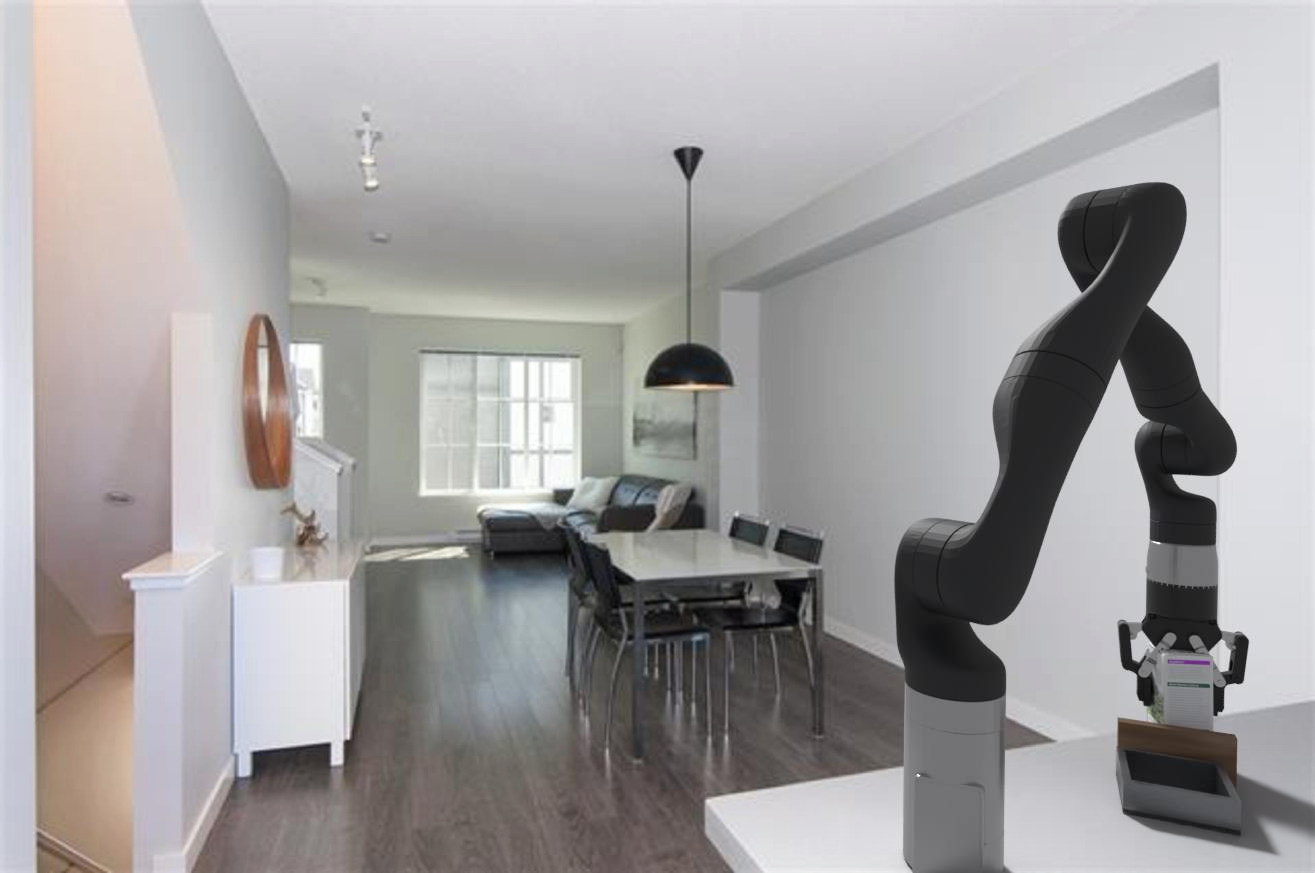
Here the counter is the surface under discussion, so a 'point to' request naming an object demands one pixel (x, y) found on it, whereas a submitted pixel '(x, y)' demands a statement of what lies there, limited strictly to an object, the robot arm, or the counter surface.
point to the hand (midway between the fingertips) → (1179, 708)
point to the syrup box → (1182, 689)
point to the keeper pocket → (1177, 790)
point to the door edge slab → (1180, 742)
